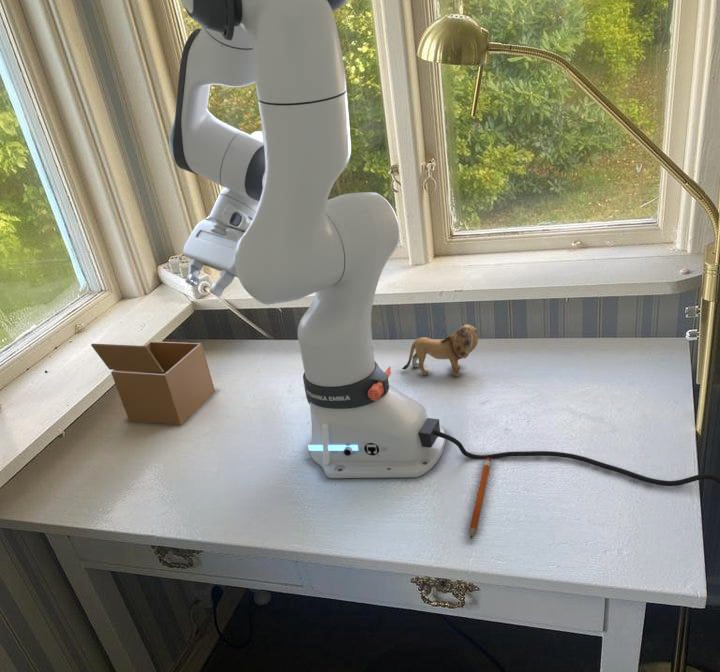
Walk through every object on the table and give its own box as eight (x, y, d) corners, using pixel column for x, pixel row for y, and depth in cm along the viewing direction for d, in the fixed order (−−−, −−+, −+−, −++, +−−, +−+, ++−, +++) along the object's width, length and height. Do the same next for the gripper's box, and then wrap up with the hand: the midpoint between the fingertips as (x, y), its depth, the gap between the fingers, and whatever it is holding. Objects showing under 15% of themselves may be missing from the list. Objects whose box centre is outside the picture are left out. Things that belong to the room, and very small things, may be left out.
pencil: (491, 462, 112) (491, 457, 112) (474, 541, 98) (473, 536, 97) (485, 461, 113) (485, 457, 112) (467, 541, 98) (467, 536, 98)
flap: (147, 345, 123) (146, 347, 123) (163, 371, 128) (163, 372, 128) (91, 343, 127) (90, 345, 127) (110, 367, 132) (109, 369, 132)
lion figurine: (479, 363, 139) (478, 319, 134) (478, 376, 135) (476, 331, 130) (404, 365, 142) (399, 322, 137) (400, 378, 138) (395, 335, 133)
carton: (215, 391, 144) (201, 343, 138) (180, 425, 135) (164, 375, 129) (165, 387, 148) (150, 341, 142) (128, 420, 139) (110, 371, 133)
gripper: (193, 205, 140) (163, 271, 141) (249, 220, 126) (215, 293, 127) (219, 222, 144) (189, 286, 145) (276, 238, 130) (242, 308, 132)
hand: (202, 289), depth 136 cm, fingers open, 8 cm apart
